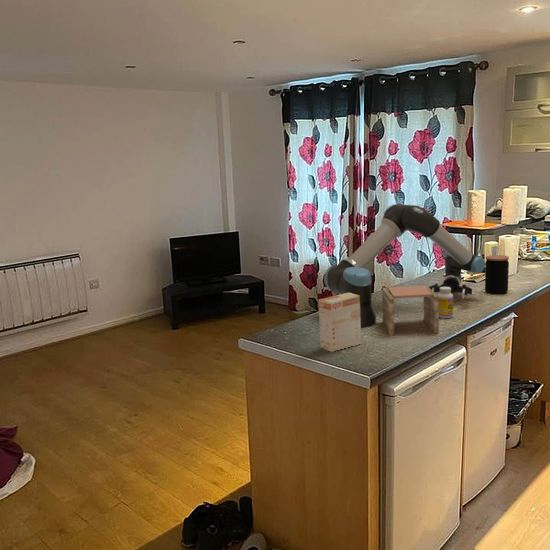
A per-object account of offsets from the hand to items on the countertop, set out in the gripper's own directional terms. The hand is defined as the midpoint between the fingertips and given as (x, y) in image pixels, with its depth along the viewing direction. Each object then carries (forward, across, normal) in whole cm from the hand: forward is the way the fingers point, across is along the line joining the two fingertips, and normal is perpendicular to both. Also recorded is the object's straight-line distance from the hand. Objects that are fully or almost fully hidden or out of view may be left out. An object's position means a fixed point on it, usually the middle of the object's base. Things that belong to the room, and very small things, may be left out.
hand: (447, 295), depth 249 cm
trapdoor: (+27, +13, +7) cm, 31 cm away
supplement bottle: (+10, 0, -7) cm, 12 cm away
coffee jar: (-37, -20, -8) cm, 43 cm away
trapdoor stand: (+28, +12, -7) cm, 32 cm away
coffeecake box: (+57, +34, -7) cm, 67 cm away
